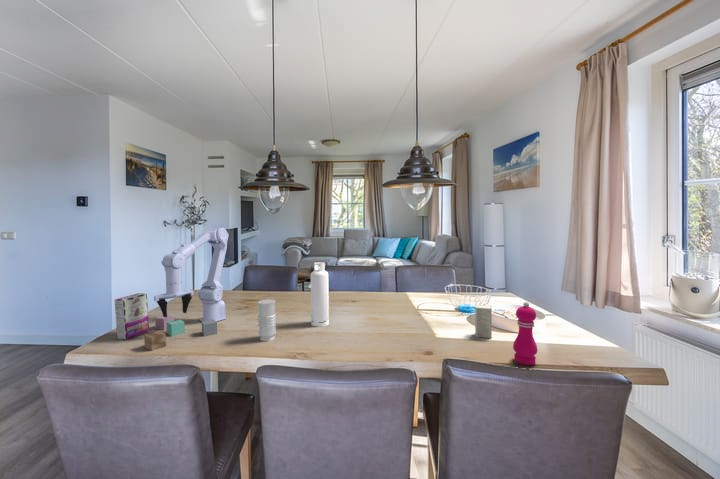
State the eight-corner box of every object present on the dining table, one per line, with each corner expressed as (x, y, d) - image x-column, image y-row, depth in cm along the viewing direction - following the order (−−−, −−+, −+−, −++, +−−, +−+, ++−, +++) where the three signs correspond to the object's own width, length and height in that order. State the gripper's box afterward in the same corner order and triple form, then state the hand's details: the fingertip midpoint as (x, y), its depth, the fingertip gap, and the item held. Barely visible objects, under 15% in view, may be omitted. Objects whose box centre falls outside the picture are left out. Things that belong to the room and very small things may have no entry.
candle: (260, 342, 126) (259, 304, 125) (257, 337, 132) (256, 300, 132) (278, 339, 129) (277, 302, 129) (274, 334, 136) (273, 298, 135)
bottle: (307, 325, 147) (306, 263, 145) (316, 320, 154) (316, 261, 153) (323, 327, 144) (323, 264, 142) (332, 322, 151) (331, 262, 150)
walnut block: (158, 344, 126) (158, 331, 126) (166, 346, 123) (165, 333, 123) (144, 348, 121) (144, 335, 121) (152, 351, 119) (151, 337, 119)
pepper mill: (514, 354, 114) (516, 298, 113) (538, 359, 110) (540, 301, 109) (510, 362, 108) (512, 302, 107) (535, 367, 104) (537, 306, 103)
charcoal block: (214, 330, 141) (214, 319, 140) (217, 334, 137) (216, 322, 136) (202, 333, 138) (201, 321, 137) (204, 336, 134) (203, 324, 133)
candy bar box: (139, 330, 142) (138, 292, 141) (149, 330, 141) (147, 293, 140) (115, 339, 131) (113, 299, 130) (126, 340, 130) (124, 299, 129)
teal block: (179, 330, 141) (179, 319, 140) (184, 333, 138) (184, 321, 137) (167, 334, 137) (166, 322, 137) (171, 336, 134) (171, 324, 133)
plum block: (165, 325, 148) (165, 314, 148) (174, 326, 146) (173, 315, 146) (155, 328, 143) (155, 317, 143) (164, 330, 142) (163, 318, 141)
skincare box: (491, 334, 134) (491, 305, 133) (491, 338, 129) (492, 308, 129) (474, 333, 136) (475, 304, 135) (474, 336, 131) (475, 307, 131)
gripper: (158, 286, 128) (159, 320, 129) (196, 281, 139) (197, 312, 140) (151, 284, 132) (152, 317, 133) (188, 279, 143) (189, 309, 144)
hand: (175, 314), depth 137 cm, fingers open, 7 cm apart
